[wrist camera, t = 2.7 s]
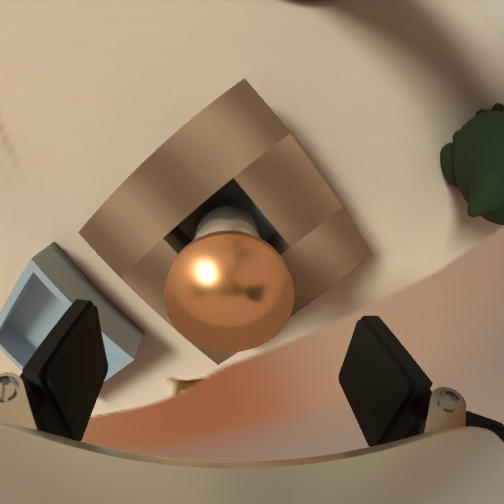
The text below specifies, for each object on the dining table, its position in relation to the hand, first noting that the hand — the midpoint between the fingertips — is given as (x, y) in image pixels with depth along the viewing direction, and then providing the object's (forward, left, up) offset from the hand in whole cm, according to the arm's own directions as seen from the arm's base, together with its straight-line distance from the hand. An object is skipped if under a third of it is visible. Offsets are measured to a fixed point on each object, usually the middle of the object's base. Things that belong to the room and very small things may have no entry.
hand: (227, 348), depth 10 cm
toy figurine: (-27, +9, -15) cm, 32 cm away
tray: (+19, -3, -14) cm, 24 cm away
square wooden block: (-1, 0, -14) cm, 14 cm away
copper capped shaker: (-1, 0, -13) cm, 13 cm away
